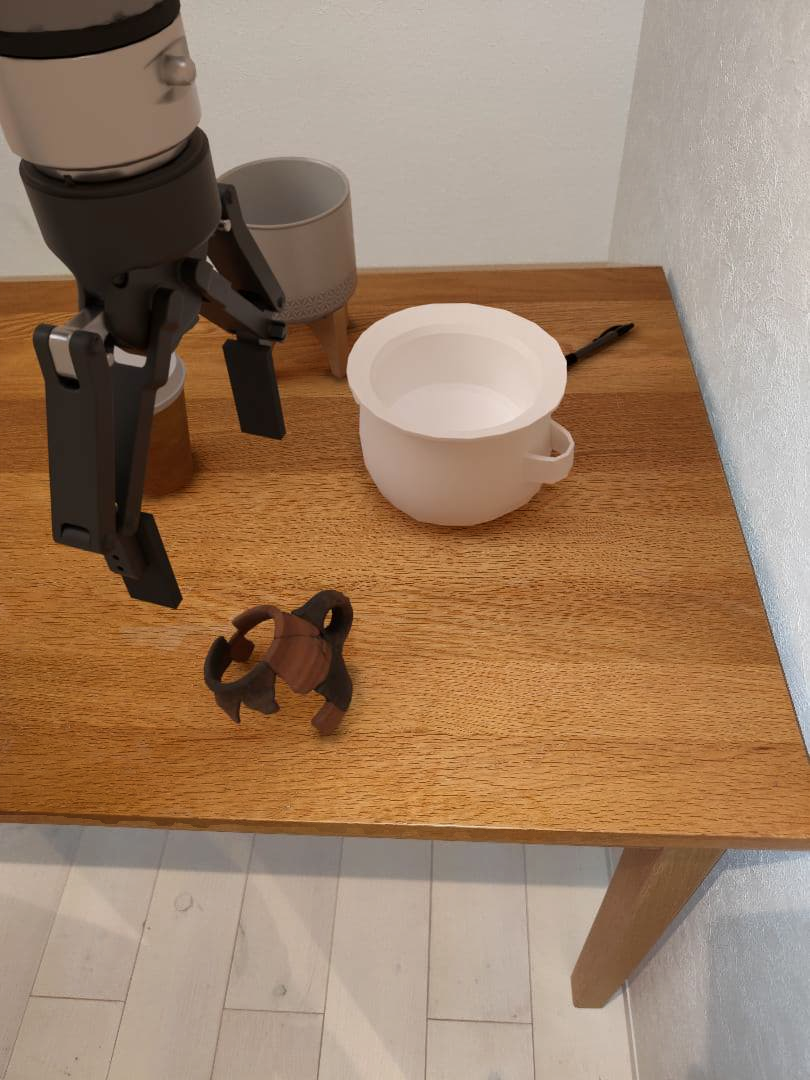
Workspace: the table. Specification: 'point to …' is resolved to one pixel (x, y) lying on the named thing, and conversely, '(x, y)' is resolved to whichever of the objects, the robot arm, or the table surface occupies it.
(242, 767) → the table surface
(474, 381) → the pot
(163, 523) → the table surface
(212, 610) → the table surface
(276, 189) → the planter
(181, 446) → the disposable coffee cup
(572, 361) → the pen
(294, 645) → the pottery mug
